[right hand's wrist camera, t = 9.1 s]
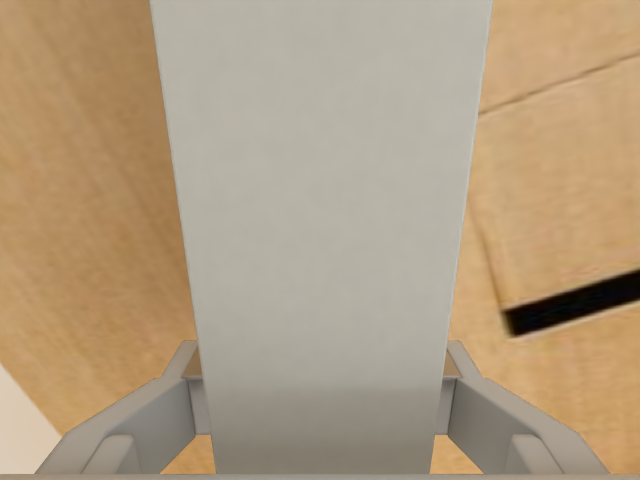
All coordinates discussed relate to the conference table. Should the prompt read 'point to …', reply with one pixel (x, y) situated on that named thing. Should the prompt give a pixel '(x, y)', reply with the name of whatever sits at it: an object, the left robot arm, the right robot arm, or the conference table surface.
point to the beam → (322, 218)
